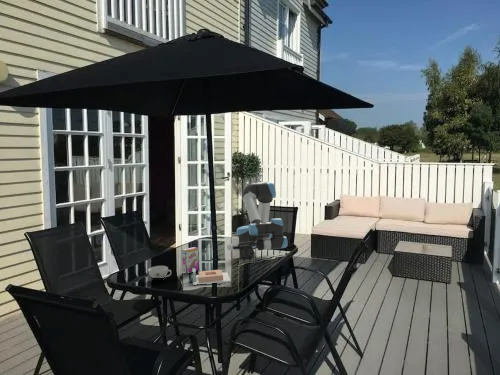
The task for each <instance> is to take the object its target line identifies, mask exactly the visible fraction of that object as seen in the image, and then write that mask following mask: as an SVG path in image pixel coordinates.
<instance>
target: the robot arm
mask: <svg viewBox="0 0 500 375" xmlns="http://www.w3.org/2000/svg"><path fill="white" fill-rule="evenodd" d="M276 197H277V192H276V186H275V184H274V182H273V181H263V182H262V181H261V182H252V183H249V184H247V185H246V186H245V187H244V188H243V191H242V193H241V199H242V202H243V203H245V204H244V205H245V209H246V212H247V214H248V215H247V216H248V219H249V222H250V223H249V224H248V225H242V226H239V227H237V229H236V233H235V234H236V237H239V244H238V245H232V243H229V244H226V249H227V251H232V250H238V249H239V251H240V258H239V259H252V258H254V257H256V252H255V250H256V248H257V250H258V251H266V250H267V251H269V250H277V249H278V250H281V249H285V248H287V247H288V238H287V236H285V235H284V222H283V219H282V218H279V217H278V218H277V217H276V218H271V219H270V212H271V203H272V202H273V200H274V199H275V198H276ZM257 201H258V203H257Z"/></svg>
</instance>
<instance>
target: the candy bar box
mask: <svg viewBox="0 0 500 375" xmlns="http://www.w3.org/2000/svg"><path fill="white" fill-rule="evenodd" d="M199 254H200V252H199V247H196V246H194V247H193V246H192V247H189V248H184V249H181V263H182V264H181V265H182V273H183V272H185V273H188V272H192V268H195V269H196V271H197V270H199V271H200V257H199V256H200V255H199ZM197 272H198V271H197Z"/></svg>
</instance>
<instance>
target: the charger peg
mask: <svg viewBox="0 0 500 375" xmlns="http://www.w3.org/2000/svg"><path fill="white" fill-rule="evenodd" d="M231 244H232V245H238V244H239V237H237V236H231ZM231 252H232V258H233V259H240V251H239V249H238V250H231Z"/></svg>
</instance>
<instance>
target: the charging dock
mask: <svg viewBox="0 0 500 375" xmlns="http://www.w3.org/2000/svg"><path fill="white" fill-rule="evenodd" d="M192 272H193V273H192V285H197V284H207V285H213V284H212V283H217V284H225V283H226V284H227V283H231V282H232V281H231V278H230V276H229V273H228V272H227V271H226V272H223V271H222V269H213V270H212V269H211V270H202V271H200V270H199V271H198V274H197V273H196V269H195V268H192ZM197 286H198V285H197Z"/></svg>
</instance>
